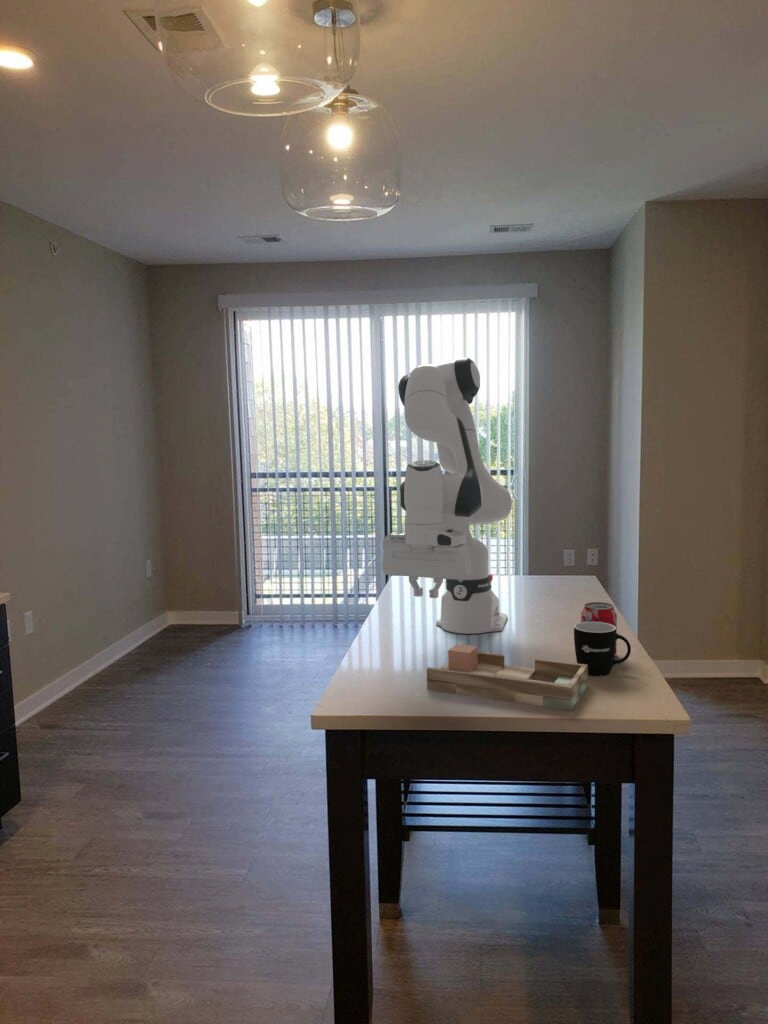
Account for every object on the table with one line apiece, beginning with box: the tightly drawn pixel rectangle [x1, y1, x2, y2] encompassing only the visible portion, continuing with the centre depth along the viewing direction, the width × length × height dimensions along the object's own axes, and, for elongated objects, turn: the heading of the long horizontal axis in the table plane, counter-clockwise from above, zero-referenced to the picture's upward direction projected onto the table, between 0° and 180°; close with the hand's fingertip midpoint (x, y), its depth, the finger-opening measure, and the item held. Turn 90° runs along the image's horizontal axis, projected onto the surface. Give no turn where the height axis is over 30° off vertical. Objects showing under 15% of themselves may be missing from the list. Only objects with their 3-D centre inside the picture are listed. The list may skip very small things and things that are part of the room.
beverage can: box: [580, 601, 618, 655], centre depth 176 cm, size 8×8×12 cm
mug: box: [573, 621, 632, 677], centre depth 164 cm, size 12×9×10 cm
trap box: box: [426, 651, 589, 711], centre depth 156 cm, size 15×30×4 cm, turn 63°
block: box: [447, 643, 479, 671], centre depth 164 cm, size 5×5×4 cm
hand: (426, 596), depth 166 cm, fingers open, 2 cm apart
